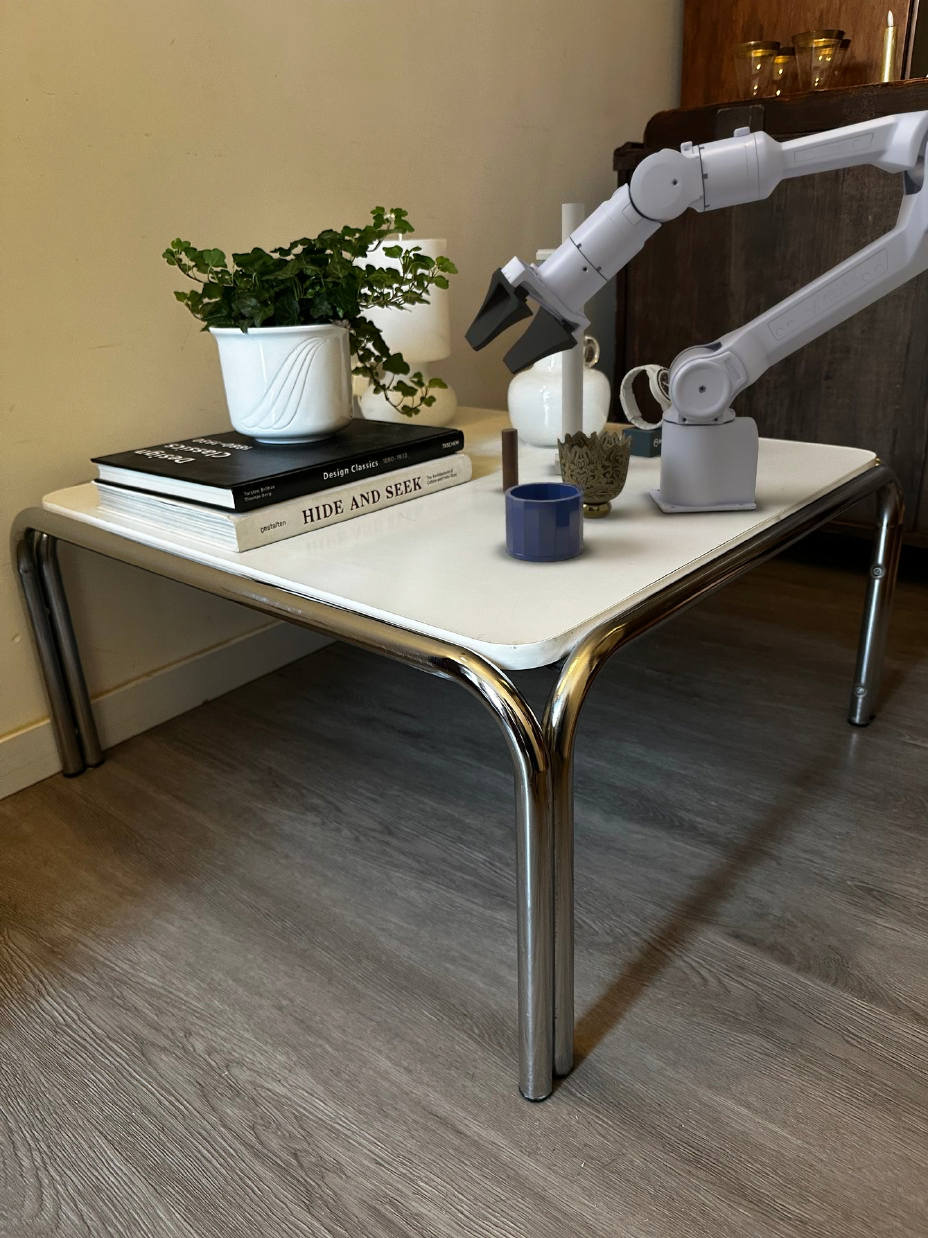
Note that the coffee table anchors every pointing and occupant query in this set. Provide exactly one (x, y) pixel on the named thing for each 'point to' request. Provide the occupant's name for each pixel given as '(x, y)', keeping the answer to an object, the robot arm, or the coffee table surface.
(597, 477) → the cup
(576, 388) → the model tower
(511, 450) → the brown cylinder
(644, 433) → the watch
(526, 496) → the cup
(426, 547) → the coffee table surface
